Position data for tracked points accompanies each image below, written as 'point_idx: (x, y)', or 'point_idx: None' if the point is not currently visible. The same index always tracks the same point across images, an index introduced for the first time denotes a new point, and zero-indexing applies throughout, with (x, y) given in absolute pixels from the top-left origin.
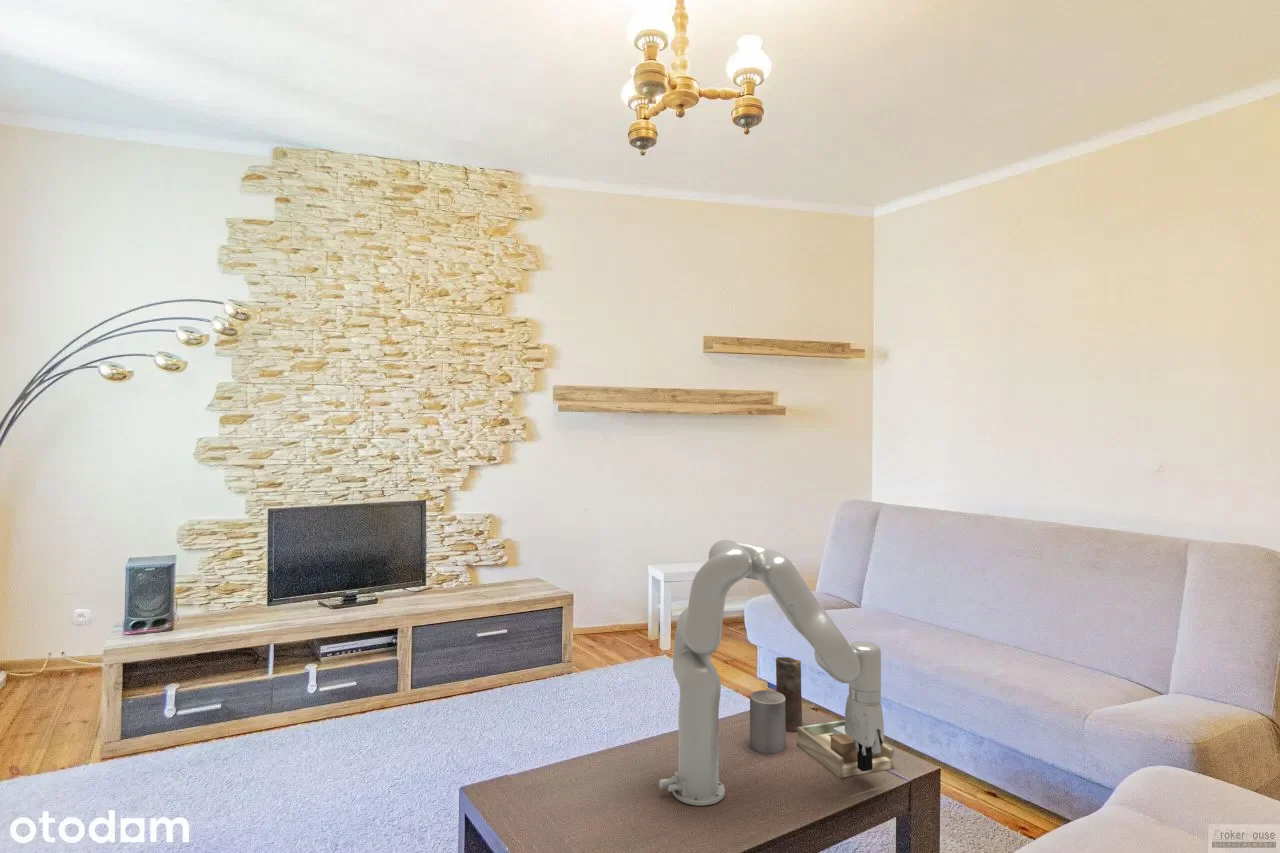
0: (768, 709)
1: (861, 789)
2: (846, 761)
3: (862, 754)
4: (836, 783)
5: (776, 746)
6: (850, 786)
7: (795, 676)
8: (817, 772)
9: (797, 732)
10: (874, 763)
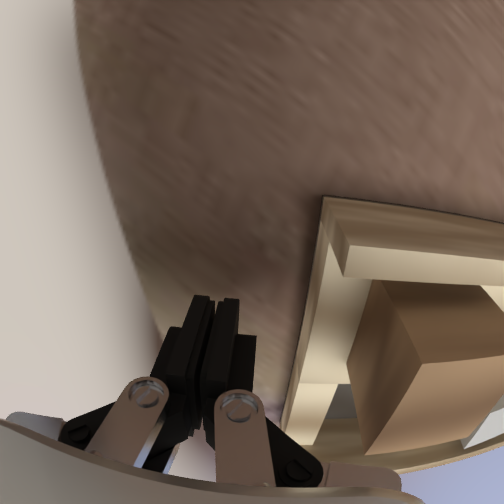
0: None
1: (181, 226)
2: (370, 304)
3: (161, 384)
4: (290, 141)
5: None
6: (229, 193)
7: None
8: (435, 136)
9: None
10: (293, 400)
